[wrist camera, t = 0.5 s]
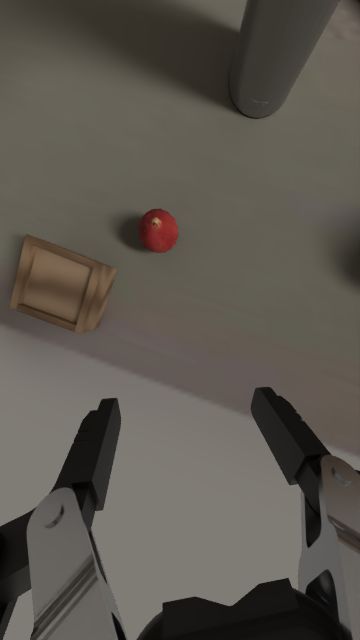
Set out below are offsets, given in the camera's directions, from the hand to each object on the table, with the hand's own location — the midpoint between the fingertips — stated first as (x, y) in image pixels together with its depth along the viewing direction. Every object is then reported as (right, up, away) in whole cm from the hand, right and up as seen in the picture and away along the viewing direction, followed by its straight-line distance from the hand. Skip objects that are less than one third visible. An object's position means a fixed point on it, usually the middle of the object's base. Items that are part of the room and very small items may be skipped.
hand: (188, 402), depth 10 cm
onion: (-4, +19, +20) cm, 27 cm away
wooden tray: (-19, +11, +21) cm, 30 cm away
